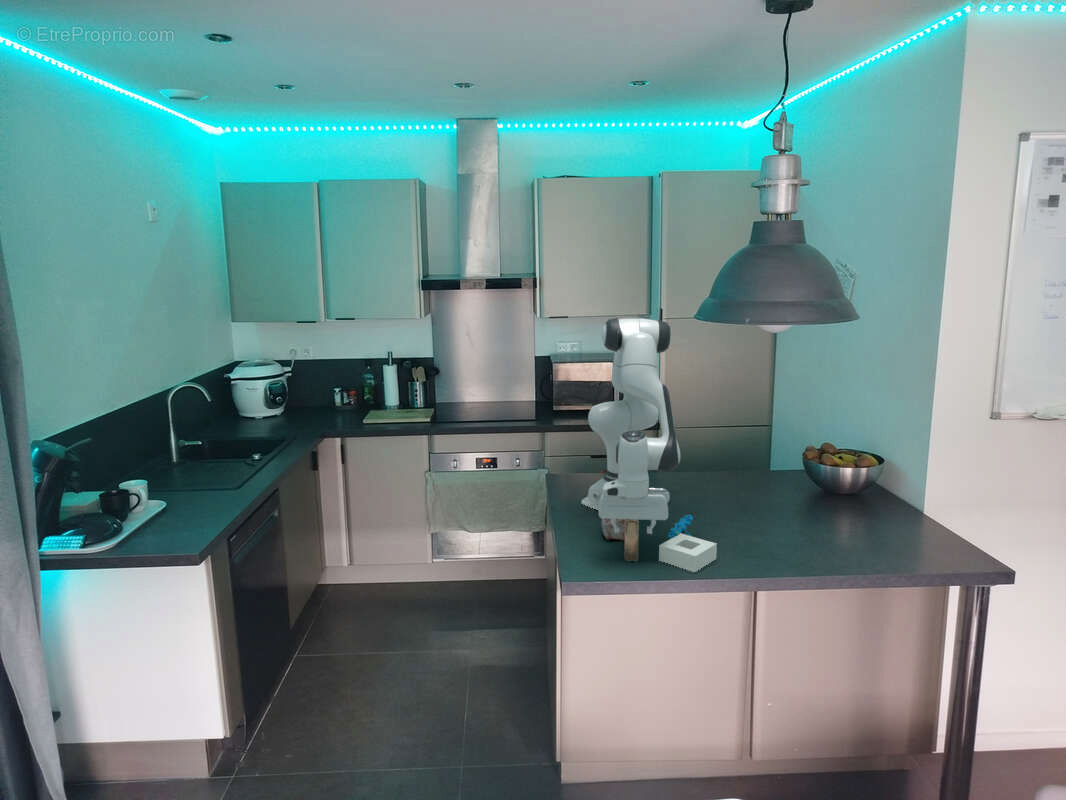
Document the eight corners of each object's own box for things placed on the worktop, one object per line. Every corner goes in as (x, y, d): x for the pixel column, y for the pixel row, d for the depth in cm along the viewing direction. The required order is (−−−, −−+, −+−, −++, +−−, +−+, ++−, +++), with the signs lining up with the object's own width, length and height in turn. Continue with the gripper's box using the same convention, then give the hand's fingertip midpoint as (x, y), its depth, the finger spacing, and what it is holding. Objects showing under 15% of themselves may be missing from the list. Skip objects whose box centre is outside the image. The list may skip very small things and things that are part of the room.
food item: (628, 542, 225) (629, 512, 223) (603, 542, 224) (603, 512, 223) (622, 526, 238) (622, 497, 236) (598, 526, 238) (598, 498, 236)
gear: (668, 525, 233) (691, 508, 229) (681, 538, 233) (704, 521, 229) (663, 542, 223) (687, 524, 219) (677, 555, 223) (701, 538, 219)
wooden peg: (621, 559, 212) (622, 520, 209) (629, 555, 214) (630, 517, 212) (632, 562, 209) (633, 524, 207) (640, 558, 212) (641, 520, 209)
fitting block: (658, 561, 210) (659, 545, 209) (680, 548, 218) (681, 533, 217) (694, 572, 202) (695, 556, 201) (716, 559, 210) (716, 543, 209)
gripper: (669, 484, 209) (668, 530, 211) (598, 483, 212) (599, 528, 214) (670, 491, 203) (669, 537, 205) (598, 490, 205) (598, 535, 208)
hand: (633, 532), depth 210 cm, fingers open, 8 cm apart
